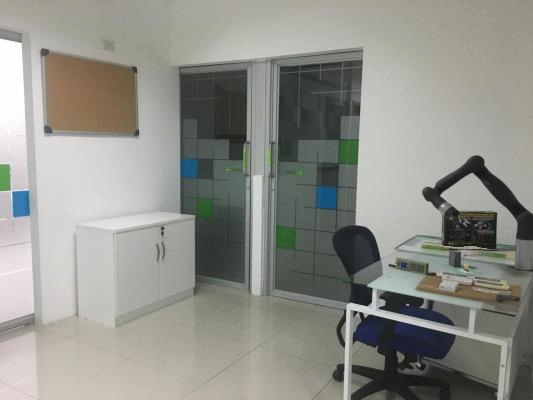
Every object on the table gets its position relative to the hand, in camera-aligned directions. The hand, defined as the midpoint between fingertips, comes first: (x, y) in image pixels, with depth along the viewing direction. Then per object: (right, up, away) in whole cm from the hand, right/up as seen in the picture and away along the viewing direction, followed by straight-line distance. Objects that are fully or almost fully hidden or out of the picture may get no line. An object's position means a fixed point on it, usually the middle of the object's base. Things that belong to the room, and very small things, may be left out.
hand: (469, 229), depth 254 cm
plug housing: (-4, -22, +10) cm, 25 cm away
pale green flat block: (-4, -24, +4) cm, 24 cm away
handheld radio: (-33, -24, +5) cm, 41 cm away
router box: (+29, -19, +69) cm, 77 cm away
